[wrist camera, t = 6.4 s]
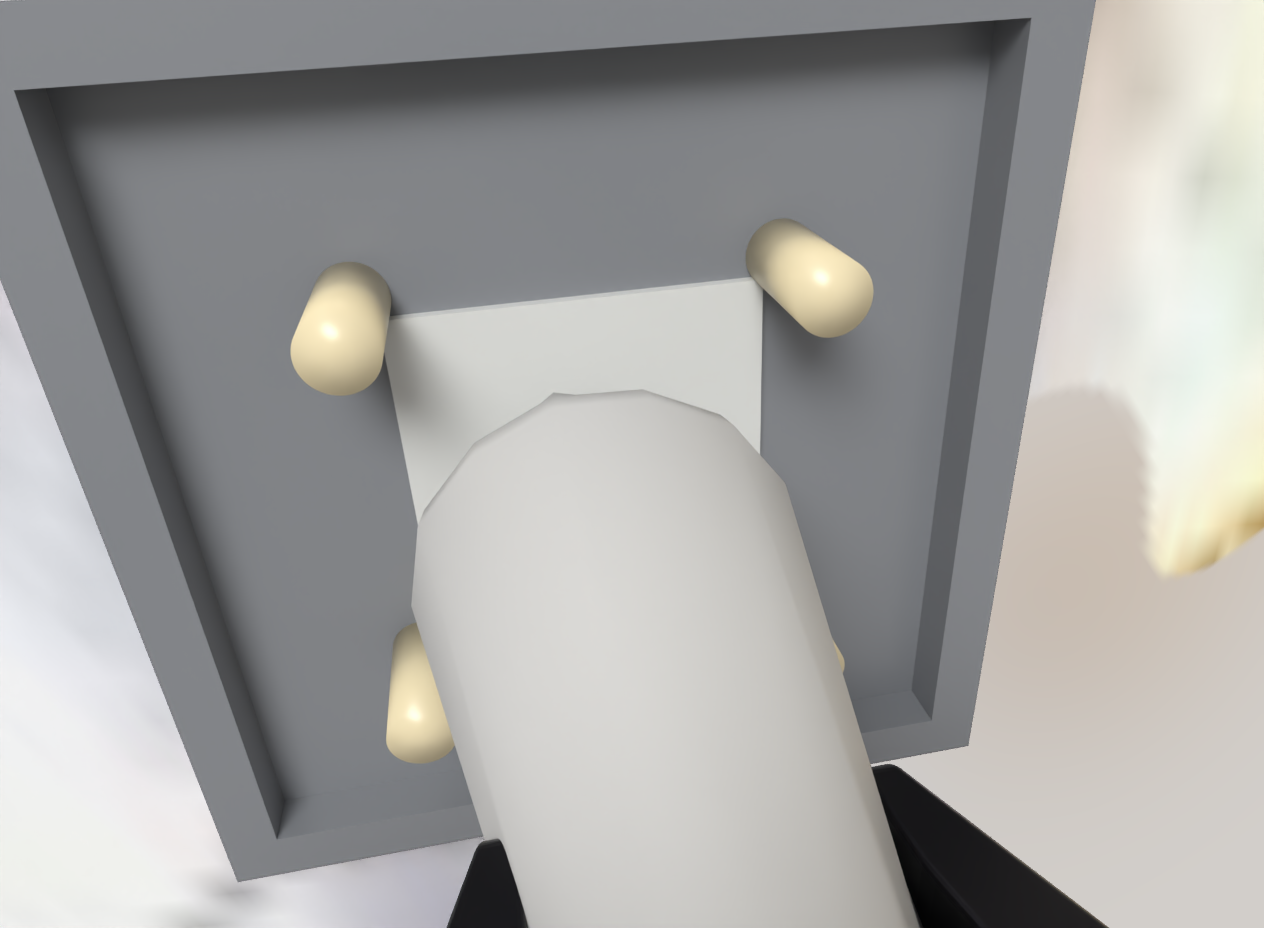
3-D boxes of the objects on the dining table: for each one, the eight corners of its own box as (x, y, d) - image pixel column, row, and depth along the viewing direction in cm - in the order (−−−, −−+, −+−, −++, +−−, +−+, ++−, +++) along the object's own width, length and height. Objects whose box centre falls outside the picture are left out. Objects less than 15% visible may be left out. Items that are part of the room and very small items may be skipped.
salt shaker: (338, 500, 15) (42, 2158, 4) (600, 262, 14) (1353, 1508, 3) (576, 682, 18) (837, 1946, 6) (810, 494, 17) (1623, 1593, 5)
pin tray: (924, 680, 23) (1003, 796, 19) (256, 798, 21) (222, 950, 17) (1022, -60, 15) (1180, -69, 12) (-26, 3, 13) (-181, 11, 10)
